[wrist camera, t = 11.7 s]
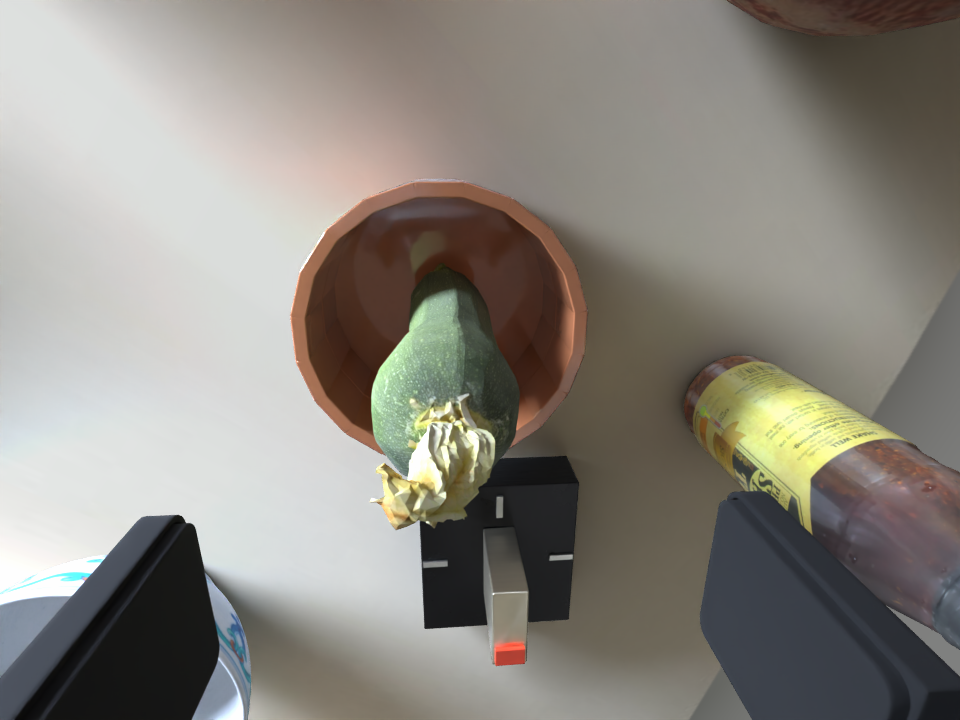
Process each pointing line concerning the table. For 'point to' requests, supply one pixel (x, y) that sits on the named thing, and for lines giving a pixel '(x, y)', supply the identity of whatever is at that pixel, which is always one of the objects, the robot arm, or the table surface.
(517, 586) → the hob knob
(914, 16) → the jug
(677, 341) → the table surface
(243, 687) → the chinaware
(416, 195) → the terracotta pot
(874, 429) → the sauce bottle
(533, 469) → the panel
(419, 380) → the vegetable
